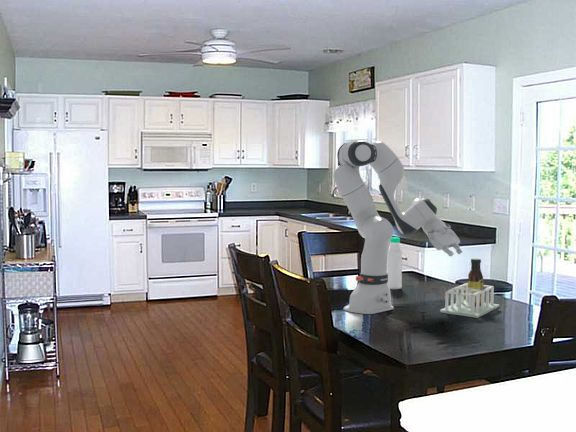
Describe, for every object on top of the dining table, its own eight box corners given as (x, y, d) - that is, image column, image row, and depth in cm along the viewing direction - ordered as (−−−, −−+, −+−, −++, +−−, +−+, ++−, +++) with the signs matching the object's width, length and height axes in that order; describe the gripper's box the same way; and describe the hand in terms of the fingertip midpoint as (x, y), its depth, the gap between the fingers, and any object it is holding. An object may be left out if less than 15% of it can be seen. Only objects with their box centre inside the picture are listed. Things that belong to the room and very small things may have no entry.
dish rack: (477, 317, 258) (478, 295, 257) (439, 312, 267) (440, 290, 267) (499, 306, 278) (499, 286, 277) (463, 301, 287) (463, 281, 287)
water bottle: (401, 286, 321) (402, 236, 319) (402, 289, 314) (403, 238, 312) (386, 286, 322) (387, 236, 320) (387, 289, 315) (388, 238, 313)
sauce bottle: (483, 307, 272) (484, 260, 271) (467, 306, 274) (469, 259, 272) (481, 303, 279) (483, 258, 277) (466, 303, 280) (468, 257, 278)
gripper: (431, 227, 275) (452, 252, 270) (450, 224, 291) (470, 247, 286) (420, 236, 278) (441, 261, 273) (440, 233, 294) (460, 256, 289)
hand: (456, 254), depth 280 cm, fingers open, 8 cm apart
